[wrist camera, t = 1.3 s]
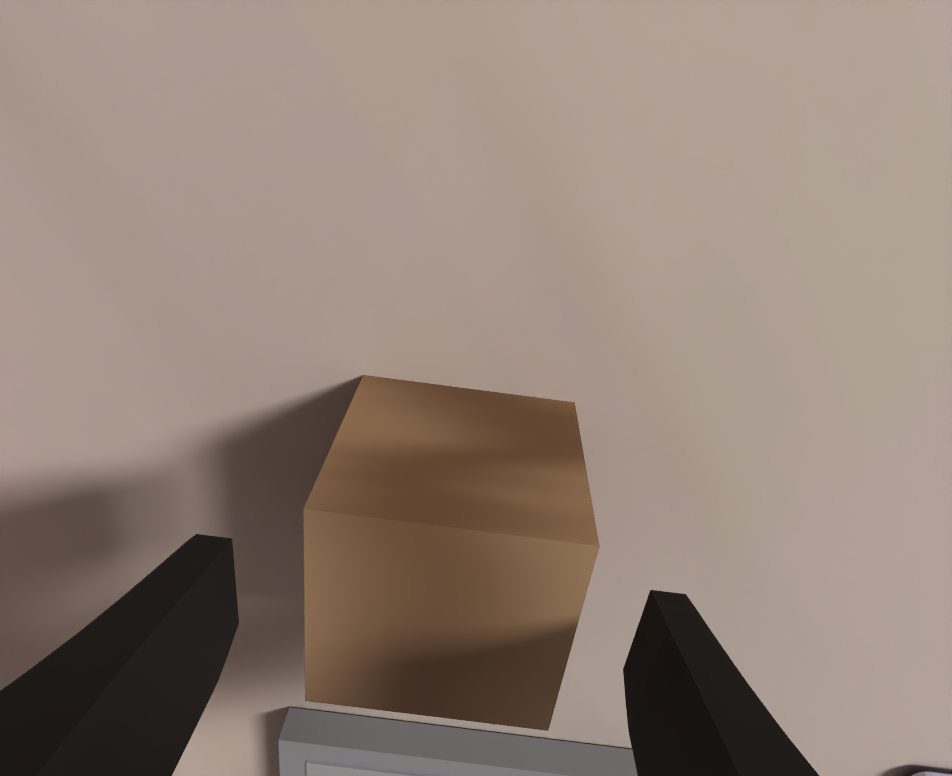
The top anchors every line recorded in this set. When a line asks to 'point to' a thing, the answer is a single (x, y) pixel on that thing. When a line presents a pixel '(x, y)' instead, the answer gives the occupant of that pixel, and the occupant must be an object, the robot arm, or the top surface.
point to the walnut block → (447, 554)
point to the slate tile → (431, 750)
